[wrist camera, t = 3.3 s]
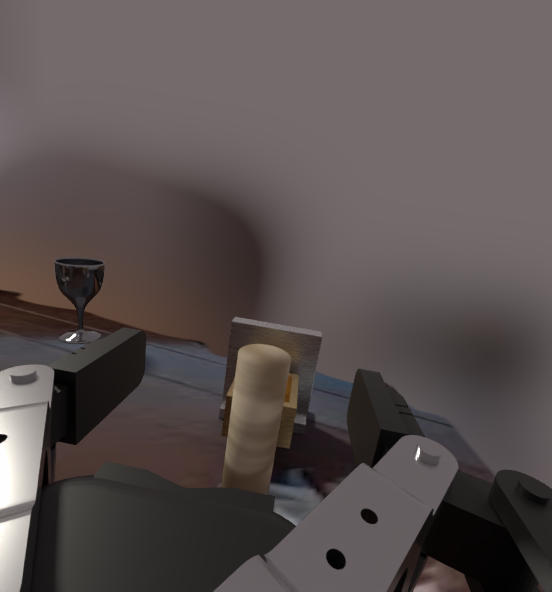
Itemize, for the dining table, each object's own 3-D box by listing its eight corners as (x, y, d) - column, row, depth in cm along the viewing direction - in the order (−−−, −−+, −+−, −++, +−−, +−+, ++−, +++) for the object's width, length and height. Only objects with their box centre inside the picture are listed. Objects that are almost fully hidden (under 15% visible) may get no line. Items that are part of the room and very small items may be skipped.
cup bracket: (303, 482, 35) (326, 369, 32) (199, 461, 36) (210, 348, 33) (304, 409, 49) (320, 324, 46) (229, 395, 50) (239, 311, 47)
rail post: (238, 575, 25) (270, 373, 21) (204, 542, 28) (226, 352, 23) (268, 539, 29) (300, 357, 24) (236, 511, 31) (260, 340, 26)
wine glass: (111, 331, 66) (112, 261, 63) (89, 346, 59) (90, 267, 55) (72, 326, 66) (71, 255, 62) (46, 341, 58) (43, 260, 55)
